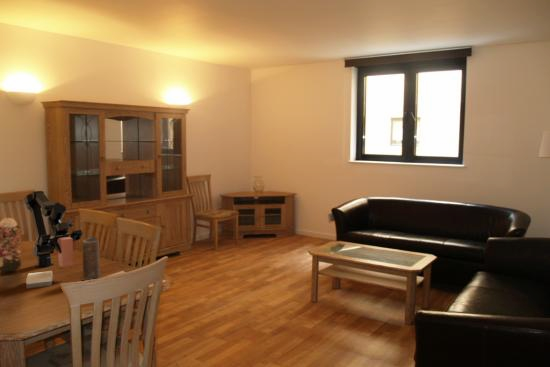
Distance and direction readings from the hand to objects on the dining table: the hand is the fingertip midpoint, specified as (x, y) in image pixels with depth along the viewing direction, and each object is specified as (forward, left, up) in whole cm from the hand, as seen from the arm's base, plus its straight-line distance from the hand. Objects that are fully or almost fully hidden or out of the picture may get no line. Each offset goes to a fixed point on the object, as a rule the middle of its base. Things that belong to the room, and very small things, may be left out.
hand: (66, 251), depth 214 cm
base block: (-7, -10, -13) cm, 18 cm away
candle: (+11, +4, -14) cm, 18 cm away
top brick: (-1, 0, -7) cm, 7 cm away
